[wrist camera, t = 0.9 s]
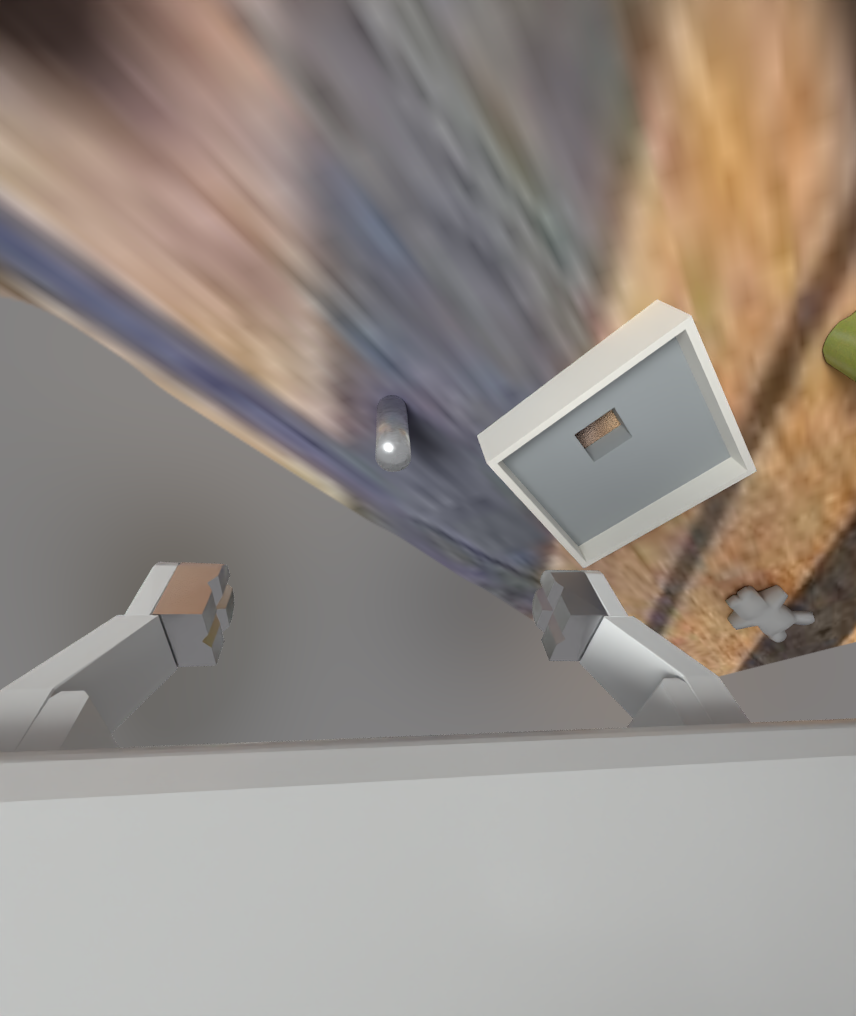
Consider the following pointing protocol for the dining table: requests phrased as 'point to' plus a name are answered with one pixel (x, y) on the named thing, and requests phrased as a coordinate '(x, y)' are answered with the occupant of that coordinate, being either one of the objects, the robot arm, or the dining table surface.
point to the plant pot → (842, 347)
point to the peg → (392, 434)
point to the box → (622, 437)
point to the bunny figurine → (765, 612)
